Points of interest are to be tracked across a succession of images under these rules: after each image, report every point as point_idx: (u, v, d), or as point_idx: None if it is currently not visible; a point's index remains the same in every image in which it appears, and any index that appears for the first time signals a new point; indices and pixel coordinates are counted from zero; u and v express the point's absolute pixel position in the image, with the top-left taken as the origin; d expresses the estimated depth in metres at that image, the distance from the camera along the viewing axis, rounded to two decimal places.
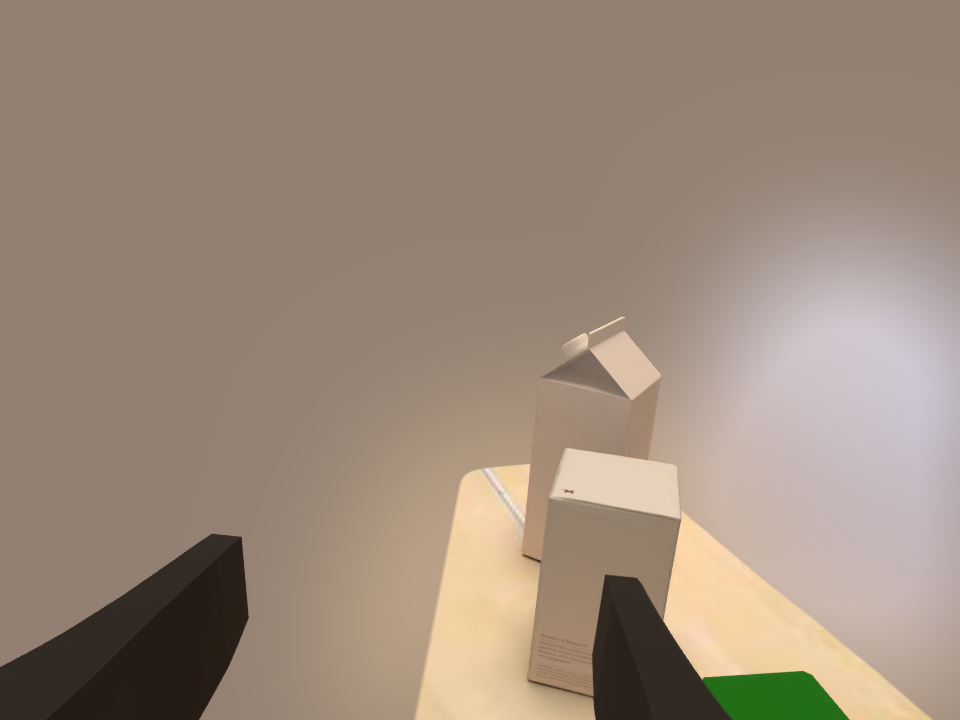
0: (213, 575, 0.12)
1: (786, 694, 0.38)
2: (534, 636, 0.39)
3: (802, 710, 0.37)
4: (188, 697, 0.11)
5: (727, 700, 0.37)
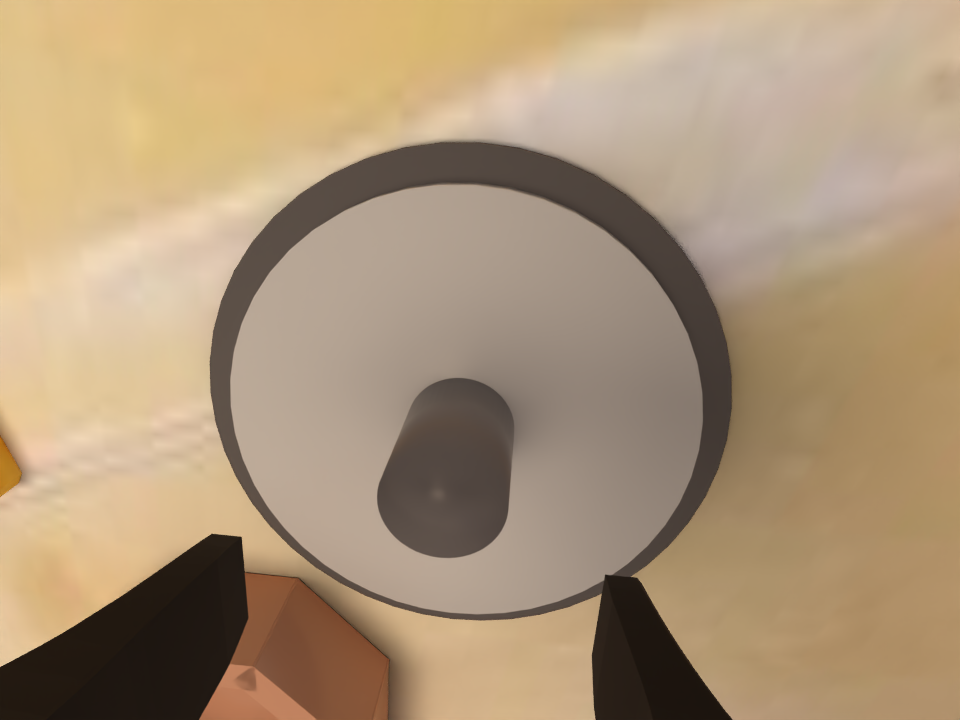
0: (213, 576, 0.12)
1: None
2: None
3: None
4: (188, 697, 0.11)
5: None
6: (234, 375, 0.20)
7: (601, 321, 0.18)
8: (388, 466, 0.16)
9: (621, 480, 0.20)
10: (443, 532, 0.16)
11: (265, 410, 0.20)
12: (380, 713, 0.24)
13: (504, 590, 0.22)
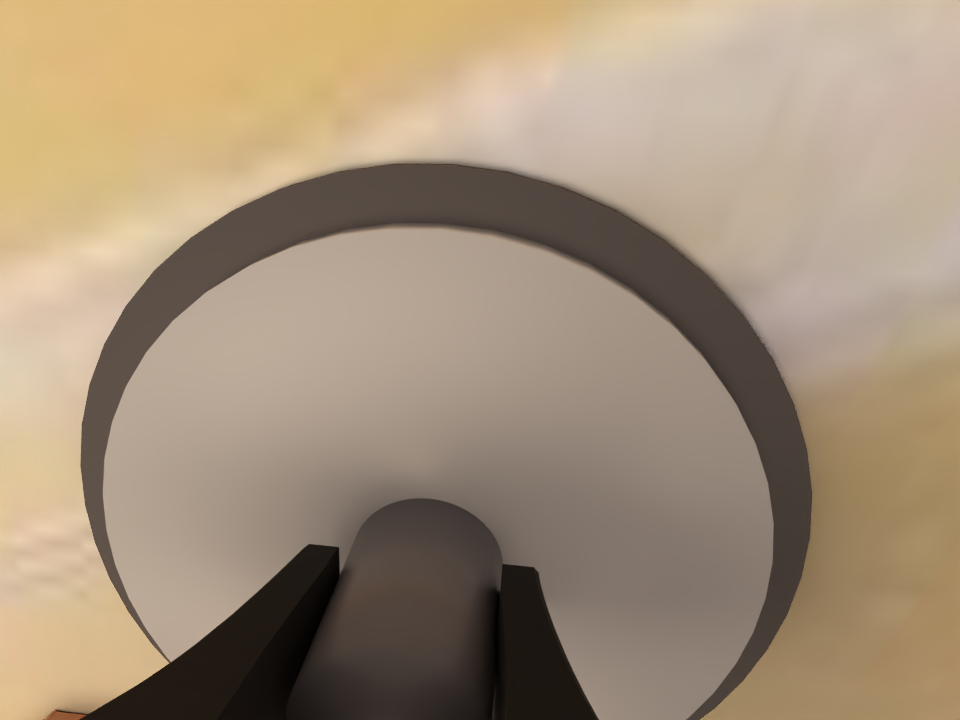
0: (320, 587, 0.12)
1: None
2: None
3: None
4: None
5: None
6: (108, 490, 0.14)
7: (628, 425, 0.12)
8: (301, 677, 0.10)
9: (653, 635, 0.14)
10: None
11: (154, 536, 0.14)
12: None
13: None
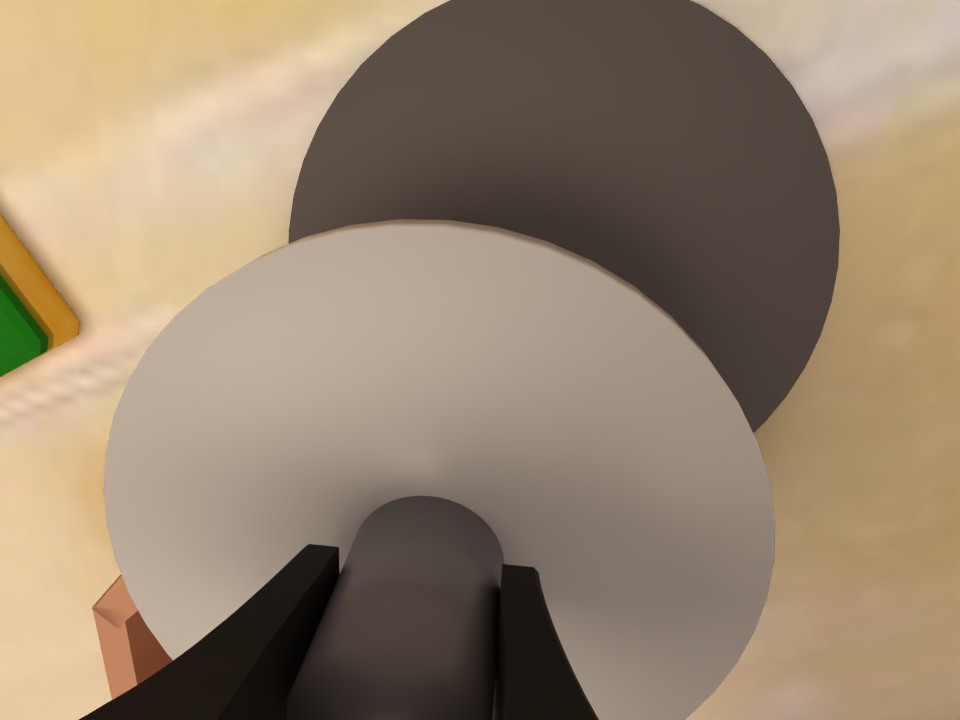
0: (319, 587, 0.12)
1: None
2: None
3: None
4: None
5: None
6: (109, 486, 0.14)
7: (630, 423, 0.12)
8: (301, 674, 0.10)
9: (654, 634, 0.14)
10: None
11: (155, 532, 0.14)
12: None
13: None
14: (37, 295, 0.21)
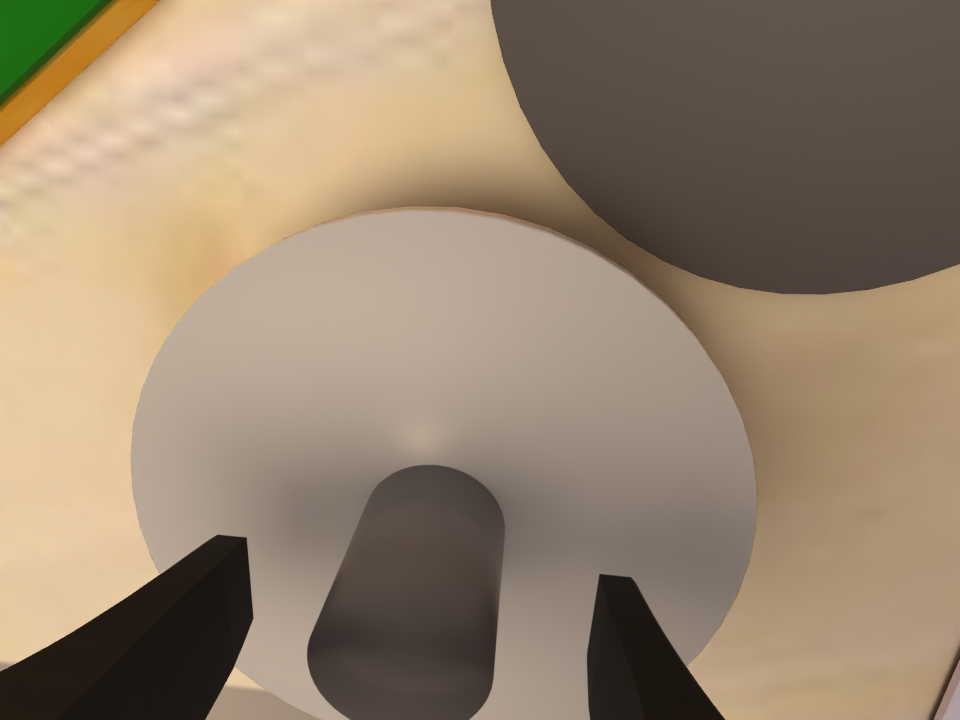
0: (219, 576, 0.12)
1: None
2: None
3: None
4: (193, 698, 0.11)
5: None
6: (135, 454, 0.15)
7: (623, 397, 0.13)
8: (322, 617, 0.11)
9: (644, 597, 0.15)
10: (401, 704, 0.12)
11: (178, 499, 0.15)
12: None
13: None
14: None
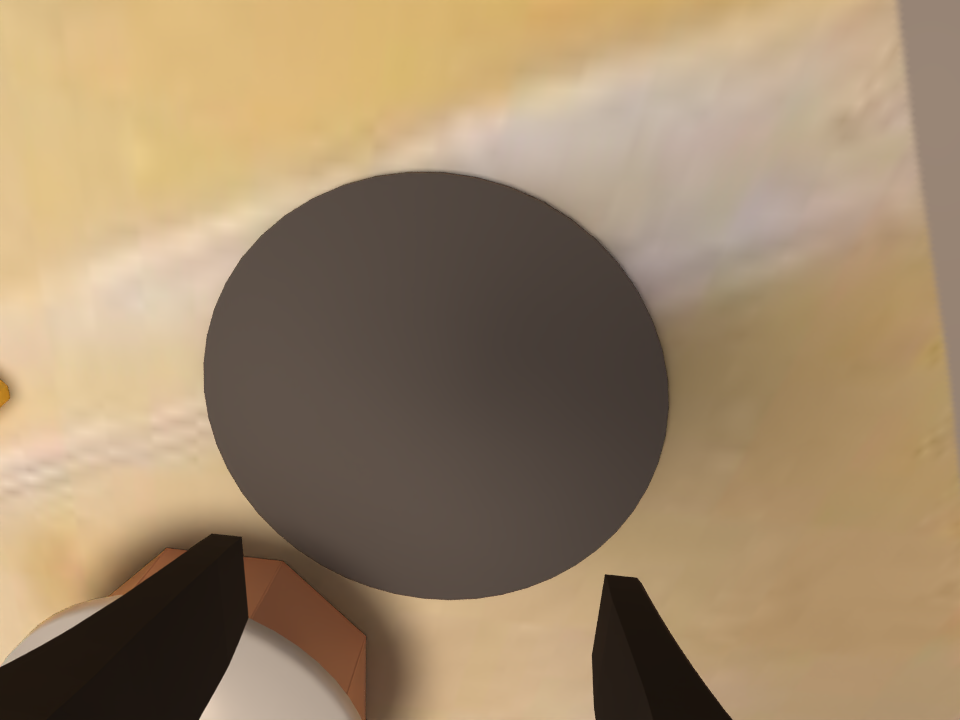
0: (213, 576, 0.12)
1: None
2: None
3: None
4: (188, 697, 0.11)
5: None
6: None
7: (274, 704, 0.22)
8: None
9: None
10: None
11: None
12: (357, 684, 0.26)
13: None
14: None
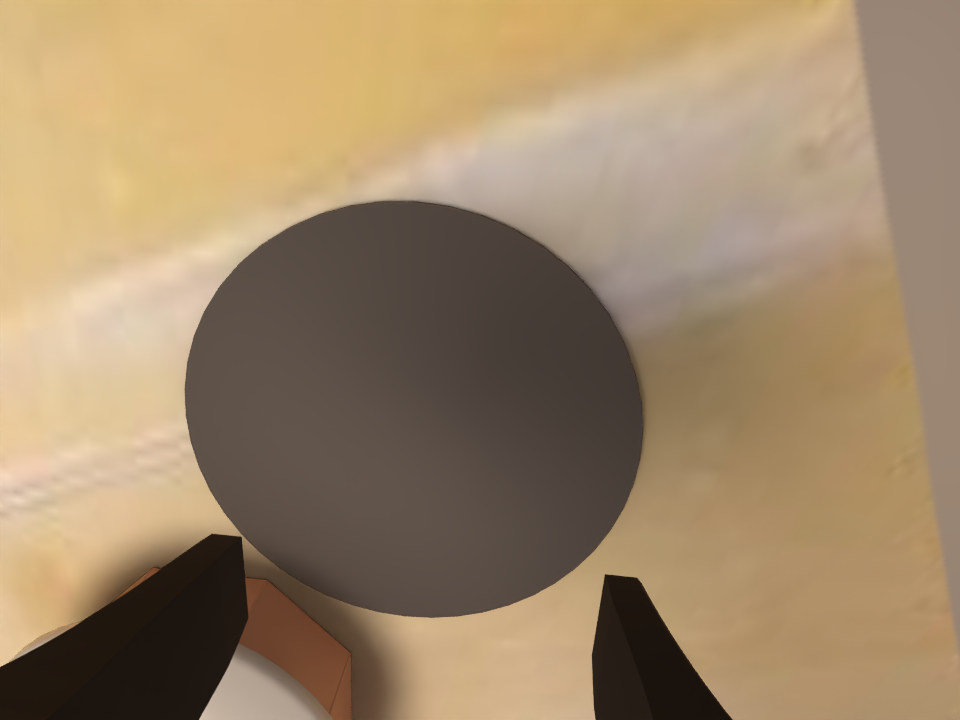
0: (213, 575, 0.12)
1: None
2: None
3: None
4: (188, 697, 0.11)
5: None
6: None
7: None
8: None
9: None
10: None
11: None
12: (341, 701, 0.27)
13: None
14: None
